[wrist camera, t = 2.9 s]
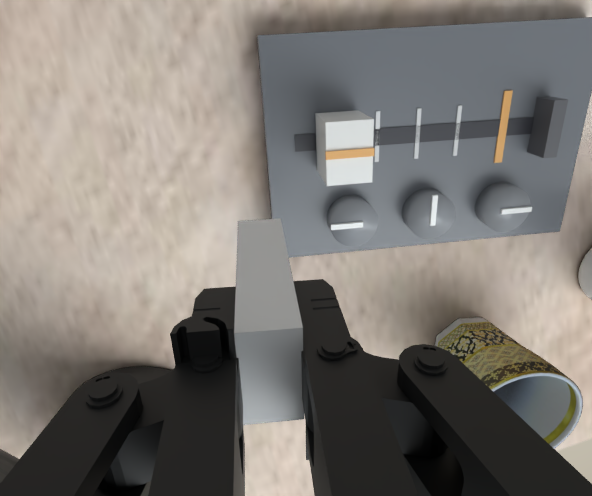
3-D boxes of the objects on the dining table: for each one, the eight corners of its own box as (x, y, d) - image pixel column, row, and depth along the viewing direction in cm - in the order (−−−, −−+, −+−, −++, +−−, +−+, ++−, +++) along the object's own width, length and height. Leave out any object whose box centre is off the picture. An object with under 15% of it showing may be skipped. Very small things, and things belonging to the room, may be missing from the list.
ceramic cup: (422, 304, 41) (473, 378, 32) (522, 298, 42) (599, 368, 33) (406, 408, 46) (446, 497, 37) (495, 401, 47) (555, 485, 38)
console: (274, 248, 36) (277, 270, 33) (257, 36, 30) (259, 34, 26) (544, 222, 38) (576, 240, 35) (587, 18, 32) (632, 14, 28)
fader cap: (316, 170, 32) (326, 186, 28) (314, 113, 30) (325, 122, 26) (358, 166, 32) (373, 182, 28) (358, 110, 30) (375, 119, 26)
